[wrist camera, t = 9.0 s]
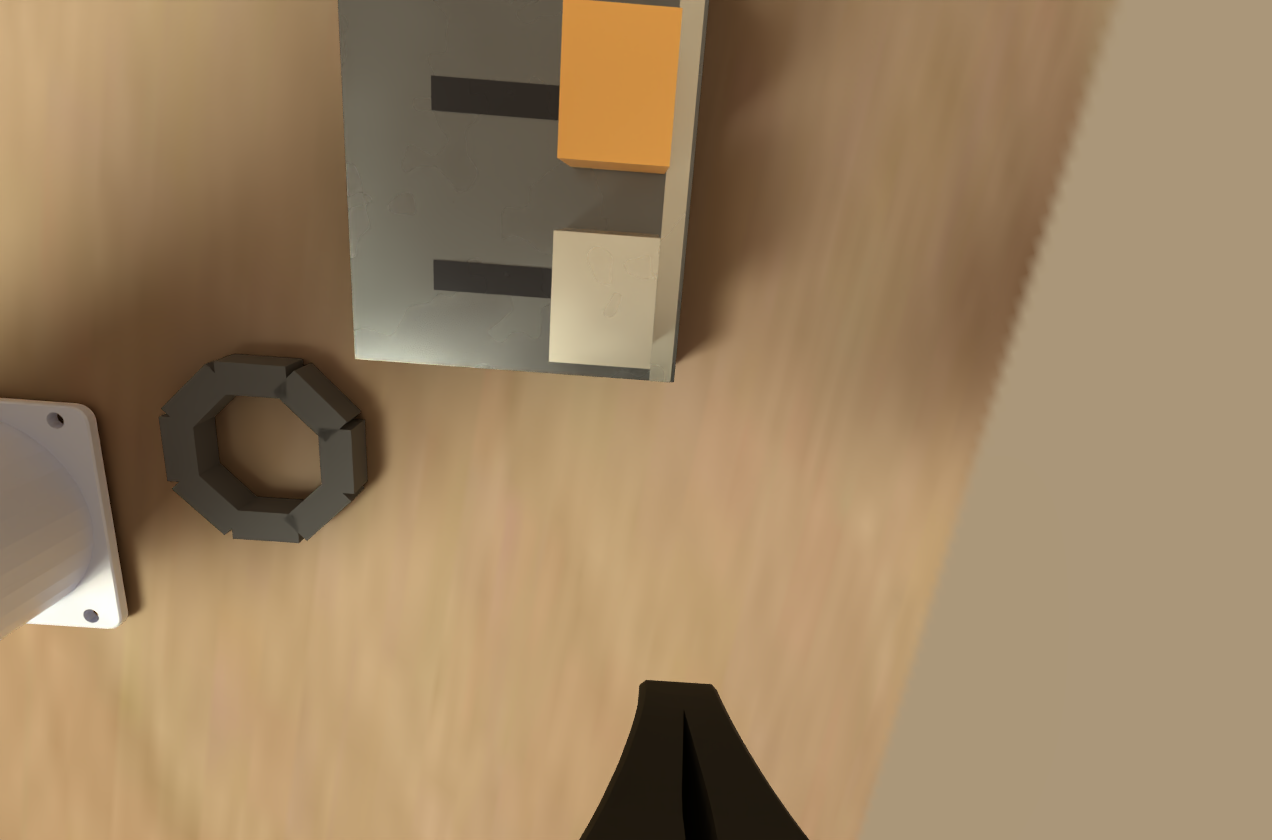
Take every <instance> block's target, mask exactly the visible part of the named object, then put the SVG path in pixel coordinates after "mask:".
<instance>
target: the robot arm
mask: <svg viewBox="0 0 1272 840" xmlns="http://www.w3.org/2000/svg"><path fill="white" fill-rule="evenodd" d="M57 414H59V415H60V416H61V417H62V418H63V420H64V424H62V423H61V422H60V421H59V420H58V418H57ZM93 610H94V611H95V612H97V613H98V615H99V616H98V615H96V614H95V613H94V612H93ZM127 617H128V609H127V603H126V597H125V591H124V585H123V579H122V573H121V566H120V560H119V554H118V548H117V542H116V536H115V530H114V524H113V518H112V512H111V506H110V500H109V494H108V488H107V482H106V476H105V470H104V464H103V458H102V452H101V446H100V440H99V434H98V428H97V421H96V418H95V415H94V413H93V412H92V411H91V410H90V408H88V407H86V406H85V405H82V404H78V403H66V402H52V401H38V400H24V399H10V398H0V640H2V639H3V638H5V637H6V636H8V635H9V634H11V633H12V632H14V631H15V630H17V629H18V628H20V627H21V626H23V625H24V624H26V623H28V624H43V625H58V626H74V627H89V628H104V629H113V628H116V627H118V626H119V625H121V624H122V623H123V622H124V621H126V619H127ZM580 840H809V839H808V838H807V836H806V835H805V834H804V832H803V831H802V830H801V829H800V827H799V826H798V825H797V823H796V822H795V821H794V819H793V818H792V816H791V815H790V814H789V812H788V811H787V809H786V808H785V807H784V805H783V804H782V802H781V801H780V799H779V798H778V797H777V795H776V794H775V792H774V791H773V789H772V788H771V786H770V785H769V783H768V782H767V780H766V779H765V777H764V775H763V774H762V772H761V771H760V769H759V767H758V766H757V764H756V763H755V761H754V759H753V758H752V756H751V754H750V753H749V751H748V749H747V748H746V746H745V744H744V743H743V741H742V739H741V737H740V736H739V734H738V732H737V730H736V728H735V726H734V725H733V723H732V721H731V719H730V717H729V715H728V713H727V711H726V709H725V707H724V705H723V703H722V701H721V699H720V697H719V694H718V692H717V690H716V689H715V688H714V687H713V685H712V684H698V683H683V682H668V681H653V680H646V681H644V682H643V683H642V684H640V686H639V697H638V706H637V710H636V714H635V718H634V721H633V725H632V728H631V731H630V734H629V737H628V739H627V742H626V745H625V747H624V750H623V753H622V755H621V758H620V761H619V763H618V765H617V768H616V770H615V772H614V774H613V776H612V778H611V781H610V783H609V785H608V787H607V789H606V791H605V793H604V796H603V798H602V800H601V802H600V804H599V806H598V807H597V809H596V811H595V813H594V815H593V817H592V819H591V820H590V822H589V824H588V826H587V828H586V829H585V831H584V833H583V834H582V836H581V838H580Z"/></svg>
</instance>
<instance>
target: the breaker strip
mask: <svg viewBox="0 0 1272 840" xmlns="http://www.w3.org/2000/svg"><path fill="white" fill-rule="evenodd" d="M593 1H605V2H617V3H630V4H642V5H654V6H666V7H678V8H683V10H682V22H681V34H680V46H679V58H678V70H677V83H676V95H675V107H674V119H673V131H672V143H671V155H670V167H669V168H668V170H667V171H666V173H665V174H656V173H643V172H630V171H617V170H604V169H592V168H579V167H570V166H569V165H567V164H566V163H564V162H563V161H561V160H560V159H558V158H557V150H558V123H559V96H560V69H561V42H562V15H563V0H338V13H339V34H340V55H341V76H342V97H343V118H344V138H345V159H346V180H347V201H348V222H349V243H350V264H351V284H352V305H353V326H354V347H355V359H362V360H376V361H389V362H403V363H417V364H431V365H444V366H458V367H472V368H485V369H499V370H513V371H527V372H540V373H554V374H568V375H582V376H595V377H609V378H623V379H636V380H649V381H658V382H674V375H675V364H676V353H677V342H678V331H679V320H680V310H681V299H682V288H683V277H684V266H685V256H686V245H687V234H688V223H689V212H690V201H691V191H692V180H693V169H694V158H695V147H696V136H697V126H698V115H699V104H700V93H701V82H702V71H703V61H704V50H705V39H706V28H707V17H708V6H709V0H593Z"/></svg>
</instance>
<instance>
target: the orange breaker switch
mask: <svg viewBox="0 0 1272 840" xmlns="http://www.w3.org/2000/svg"><path fill="white" fill-rule="evenodd" d="M682 10H683V8H678V7H666V6H654V5H642V4H630V3H617V2H605V1H593V0H563V15H562V42H561V69H560V96H559V123H558V150H557V158H558V159H560V160H561V161H563V162H564V163H566V164H567V165H569V166H570V167H579V168H592V169H604V170H617V171H630V172H643V173H656V174H665V173H666V171H667V170H668V168H669V167H670V155H671V143H672V131H673V119H674V107H675V95H676V83H677V70H678V58H679V46H680V34H681V22H682Z"/></svg>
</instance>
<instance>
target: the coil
mask: <svg viewBox="0 0 1272 840" xmlns="http://www.w3.org/2000/svg"><path fill="white" fill-rule="evenodd" d="M236 395H238V396H252V397H266V398H279V399H280V400H281V401H282V402H283V403H284V404H285V405H286V406H288V407H289V408H290V409H291V410H292V411H293V412H294V413H295V414H296V415H297V416H298V417H299V418H300V419H301V420H302V421H303V422H304V423H305V424H306V425H307V426H308V427H310V428H311V429H312V430H313V431H314V432H315V433H316V434H317V435H318V437H319V452H320V467H321V483H322V484H321V485H320V486H319V487H318V488H317V489H316V490H315V491H313V492H312V493H311V494H310V495H309V496H308V497H307V498H306V499H305V500H298V499H284V498H269V497H257V496H256V495H254V494H253V493H252V492H251V491H250V490H249V489H248V488H247V487H246V486H245V485H243V484H242V483H241V482H240V481H239V480H238V479H237V478H236V477H235V476H233V475H232V474H231V473H230V472H229V471H228V470H227V469H226V468H225V467H224V466H222V465H221V464H220V461H219V452H218V443H217V434H216V425H215V416H216V415H217V414H218V413H219V412H220V411H221V410H222V409H223V408H224V407H225V406H226V405H227V404H228V403H229V402H230V401H231V400H232V399H233V398H234V397H235V396H236ZM161 409H162V410H163V411H164V412H165V413H166V414H164V415H161V416H159V423H160V430H161V437H162V445H163V452H164V459H165V466H166V474H167V481H176V482H179V483H177V484H176V485H175V486H174V487H173V488H172V489H173V490H174V491H175V492H176V493H177V494H178V495H179V496H181V497H182V498H183V499H184V500H185V501H186V502H187V503H189V504H190V505H191V506H192V507H193V508H194V509H195V510H197V511H198V512H199V513H200V514H201V515H202V516H203V517H205V518H206V519H207V520H208V521H209V522H210V523H211V524H213V525H214V526H215V527H216V528H217V529H218V530H219V531H220V532H222V533H223V534H224V535H225V534H227V533H228V532H229V531H230V530H232V533H233V539H247V540H262V541H276V542H291V543H300V542H301V541H302V540H303V539H304V538H305V539H306V540H308V539H309V538H311V537H312V536H313V535H314V534H315V533H316V532H317V531H318V530H320V529H321V528H322V527H323V526H324V525H325V524H326V523H327V522H329V521H330V520H331V519H332V518H333V517H334V516H335V515H336V514H338V513H339V512H340V511H341V510H342V509H343V508H344V507H345V506H347V505H348V504H349V503H350V502H351V501H352V500H353V499H354V498H355V497H356V496H357V495H358V494H359V493H360V492H361V491H362V490H363V489H364V487H363V485H364V484H365V483H366V482H367V481H368V479H367V456H366V434H365V420H361V419H354V418H355V417H356V416H357V415H358V414H359V413H360V412H361V411H360V410H359V409H358V408H357V407H356V406H355V405H354V404H353V403H352V402H351V401H350V400H349V399H348V398H347V397H346V396H345V395H344V394H343V393H342V392H341V391H340V390H339V389H338V388H337V387H336V386H335V385H334V384H332V383H331V382H330V381H329V380H328V379H327V378H326V377H325V376H324V375H323V374H322V373H321V372H320V371H319V370H318V369H317V368H316V367H315V366H314V365H313V364H312V363H310V364H307V365H305V366H303V359H298V358H284V357H270V356H257V355H243V354H233V355H230V356H227V357H224V358H221V359H218V360H215V361H213V362H210V363H207V364H205V365H204V366H203V367H202V368H201V369H200V370H199V371H198V372H197V373H196V374H195V375H194V376H193V377H192V378H191V379H190V380H189V381H188V382H187V383H186V384H185V385H184V386H183V387H182V388H181V389H180V390H179V391H178V392H177V393H176V394H175V395H174V396H173V397H172V398H171V399H170V400H169V401H168V402H167V403H166V404H165V405H164V406H163V407H162V408H161Z"/></svg>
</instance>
